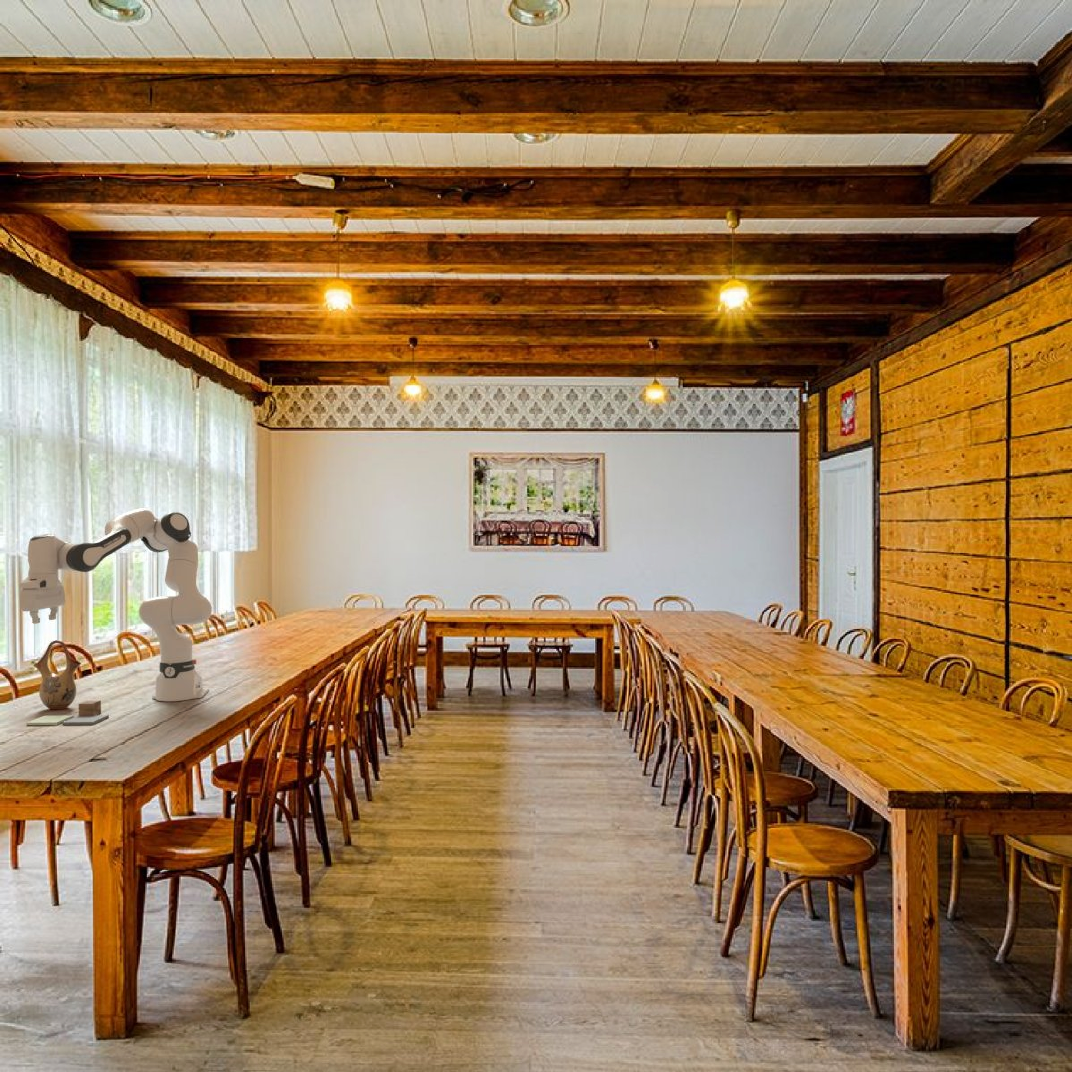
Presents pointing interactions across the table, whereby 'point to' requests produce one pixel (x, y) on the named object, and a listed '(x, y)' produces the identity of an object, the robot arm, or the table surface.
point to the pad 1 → (50, 720)
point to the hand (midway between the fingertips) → (44, 621)
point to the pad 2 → (85, 719)
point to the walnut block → (90, 707)
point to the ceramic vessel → (57, 681)
